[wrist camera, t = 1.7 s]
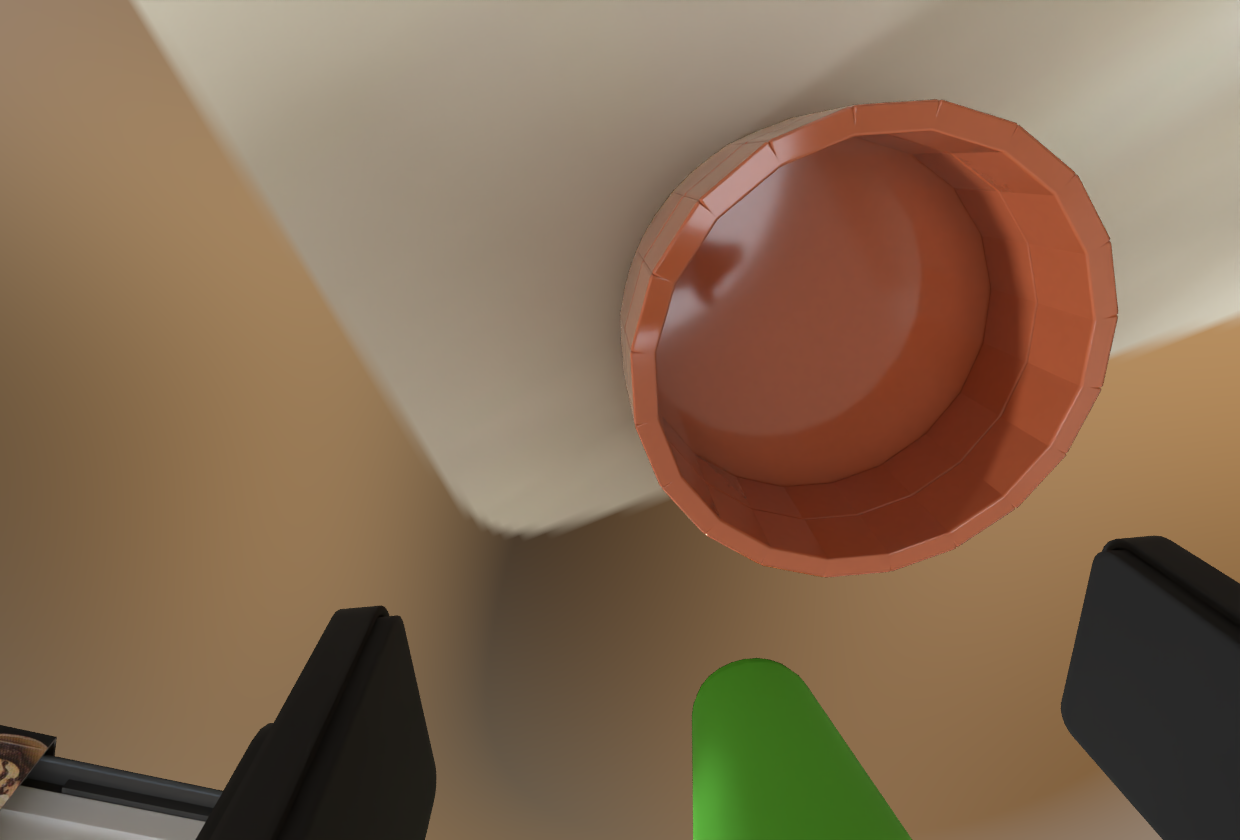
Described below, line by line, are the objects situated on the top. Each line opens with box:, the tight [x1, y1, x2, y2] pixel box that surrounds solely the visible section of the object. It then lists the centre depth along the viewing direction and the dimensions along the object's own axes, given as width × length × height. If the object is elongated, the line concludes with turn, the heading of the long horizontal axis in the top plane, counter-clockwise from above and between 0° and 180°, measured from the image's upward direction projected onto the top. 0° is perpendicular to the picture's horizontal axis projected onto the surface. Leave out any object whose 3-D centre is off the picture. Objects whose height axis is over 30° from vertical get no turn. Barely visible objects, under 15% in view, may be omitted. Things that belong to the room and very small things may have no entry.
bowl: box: [620, 99, 1118, 577], centre depth 21 cm, size 13×13×6 cm
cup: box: [692, 658, 912, 840], centre depth 24 cm, size 9×9×11 cm
